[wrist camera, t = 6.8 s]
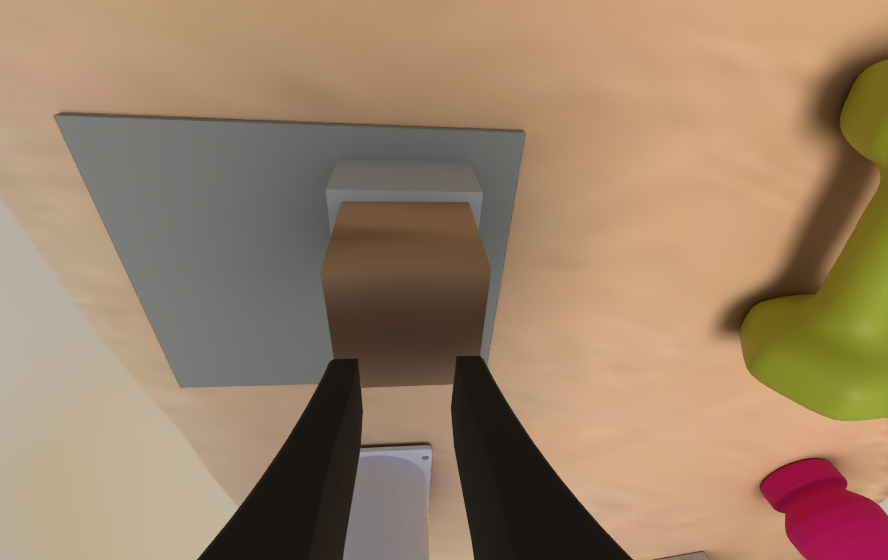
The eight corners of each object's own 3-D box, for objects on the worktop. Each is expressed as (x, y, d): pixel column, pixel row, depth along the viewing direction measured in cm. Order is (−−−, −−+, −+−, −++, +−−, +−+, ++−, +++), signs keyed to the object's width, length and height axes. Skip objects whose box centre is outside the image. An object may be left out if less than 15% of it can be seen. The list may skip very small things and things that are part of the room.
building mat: (483, 374, 26) (484, 379, 25) (183, 382, 24) (180, 387, 23) (523, 130, 17) (525, 132, 17) (60, 113, 15) (53, 115, 15)
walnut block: (460, 300, 17) (476, 383, 13) (352, 302, 17) (338, 388, 13) (468, 201, 14) (491, 269, 11) (341, 201, 14) (320, 271, 10)
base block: (459, 268, 20) (468, 312, 17) (348, 268, 20) (339, 313, 17) (469, 160, 17) (483, 192, 14) (338, 157, 17) (325, 189, 14)
